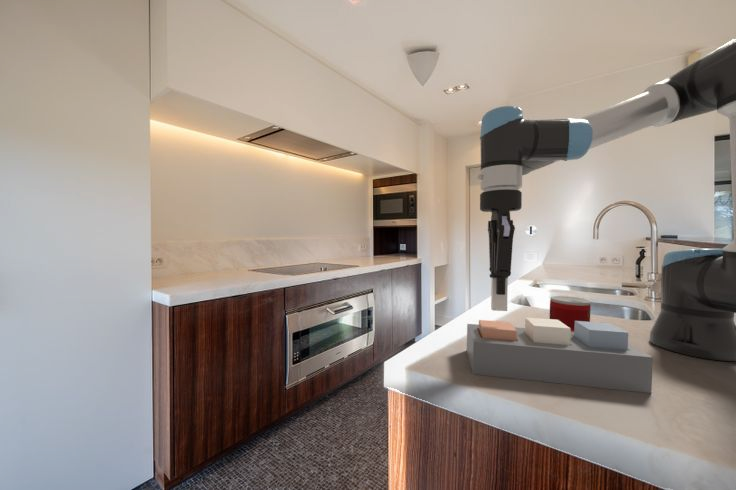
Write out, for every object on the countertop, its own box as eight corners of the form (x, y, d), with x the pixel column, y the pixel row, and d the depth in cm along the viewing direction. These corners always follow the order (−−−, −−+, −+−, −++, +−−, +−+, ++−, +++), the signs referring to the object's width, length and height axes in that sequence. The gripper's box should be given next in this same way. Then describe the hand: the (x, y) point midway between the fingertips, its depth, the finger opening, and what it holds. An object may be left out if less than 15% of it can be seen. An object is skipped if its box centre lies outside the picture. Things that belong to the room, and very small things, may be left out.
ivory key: (557, 344, 61) (557, 319, 61) (569, 355, 56) (570, 328, 55) (524, 341, 63) (525, 317, 63) (533, 352, 57) (534, 325, 57)
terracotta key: (508, 345, 63) (509, 322, 63) (515, 357, 58) (516, 330, 57) (478, 343, 65) (478, 319, 65) (482, 353, 59) (482, 328, 59)
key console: (610, 363, 62) (612, 334, 62) (651, 393, 50) (652, 357, 50) (466, 350, 68) (467, 323, 68) (472, 373, 57) (473, 341, 56)
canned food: (595, 352, 68) (597, 303, 68) (556, 349, 70) (557, 301, 69) (579, 341, 76) (580, 296, 75) (544, 338, 77) (545, 295, 77)
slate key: (608, 348, 59) (609, 323, 59) (627, 360, 54) (628, 332, 53) (573, 345, 61) (574, 320, 61) (588, 357, 55) (589, 329, 55)
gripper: (476, 195, 67) (475, 302, 68) (485, 186, 55) (484, 317, 55) (513, 194, 66) (511, 303, 66) (531, 184, 53) (529, 319, 54)
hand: (499, 309), depth 61 cm, fingers closed
